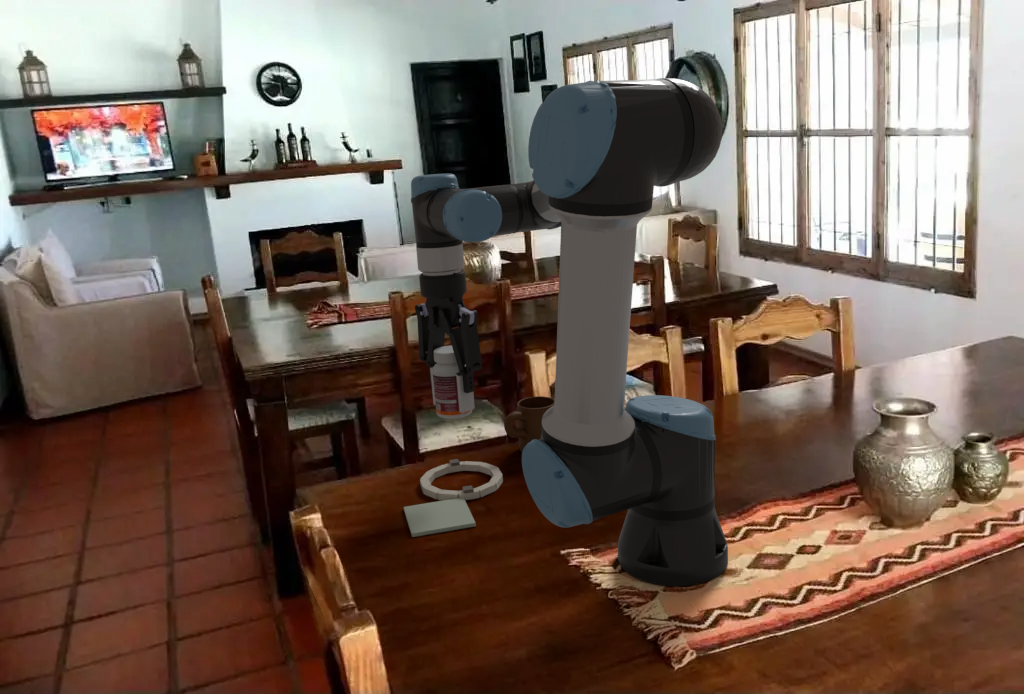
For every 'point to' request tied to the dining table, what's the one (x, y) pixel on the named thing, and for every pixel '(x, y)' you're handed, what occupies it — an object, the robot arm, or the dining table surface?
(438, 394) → the pill bottle
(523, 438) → the mug
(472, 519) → the coaster
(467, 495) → the collar
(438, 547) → the dining table surface
